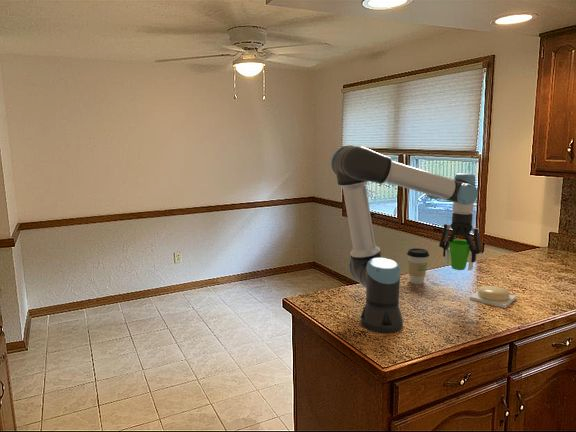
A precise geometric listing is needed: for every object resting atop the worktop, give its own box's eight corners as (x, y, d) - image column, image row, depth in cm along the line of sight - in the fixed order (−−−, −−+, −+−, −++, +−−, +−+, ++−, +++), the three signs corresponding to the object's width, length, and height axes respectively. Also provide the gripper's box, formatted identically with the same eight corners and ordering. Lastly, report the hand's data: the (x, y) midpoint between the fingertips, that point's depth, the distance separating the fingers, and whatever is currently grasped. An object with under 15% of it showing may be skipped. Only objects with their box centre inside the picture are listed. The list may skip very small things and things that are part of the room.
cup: (466, 265, 184) (468, 239, 183) (473, 272, 176) (475, 245, 174) (444, 264, 185) (445, 239, 183) (449, 271, 176) (451, 244, 174)
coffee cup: (430, 285, 203) (432, 253, 200) (408, 285, 203) (410, 253, 200) (424, 278, 213) (425, 247, 210) (403, 278, 213) (405, 247, 210)
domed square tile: (505, 308, 176) (505, 299, 175) (469, 299, 185) (470, 290, 185) (516, 298, 186) (517, 290, 185) (482, 290, 195) (482, 282, 195)
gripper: (494, 214, 172) (489, 270, 176) (440, 208, 186) (436, 260, 190) (487, 217, 166) (482, 275, 170) (432, 210, 181) (428, 263, 185)
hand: (458, 267), depth 180 cm, fingers closed on cup, 9 cm apart
